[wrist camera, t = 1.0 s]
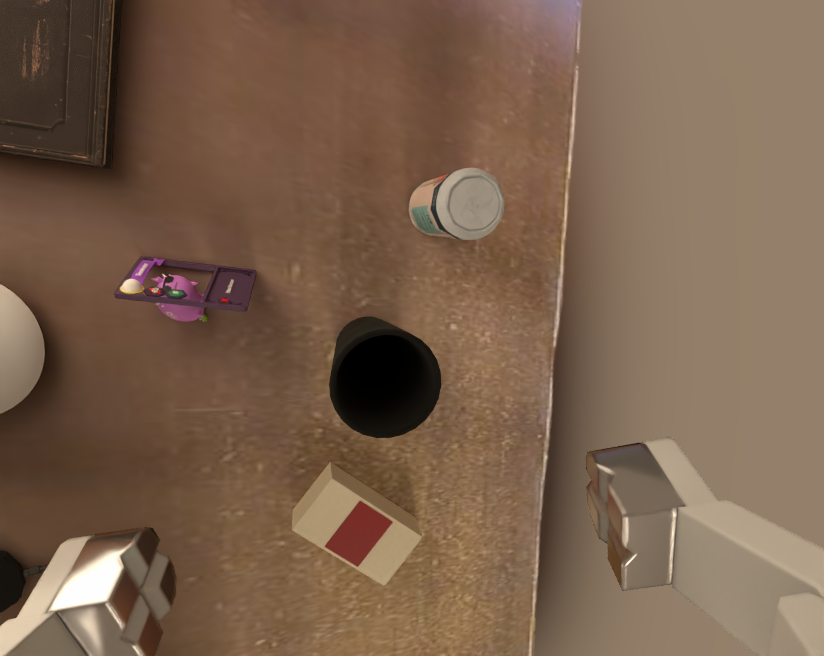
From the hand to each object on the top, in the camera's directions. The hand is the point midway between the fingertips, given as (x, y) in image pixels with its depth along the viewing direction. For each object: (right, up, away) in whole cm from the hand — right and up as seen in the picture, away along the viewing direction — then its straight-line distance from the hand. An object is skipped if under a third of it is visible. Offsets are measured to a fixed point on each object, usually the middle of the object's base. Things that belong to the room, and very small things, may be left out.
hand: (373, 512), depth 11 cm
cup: (-3, +2, +40) cm, 40 cm away
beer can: (+3, +14, +39) cm, 42 cm away
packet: (-5, -14, +43) cm, 45 cm away
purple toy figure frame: (-17, +6, +37) cm, 41 cm away
